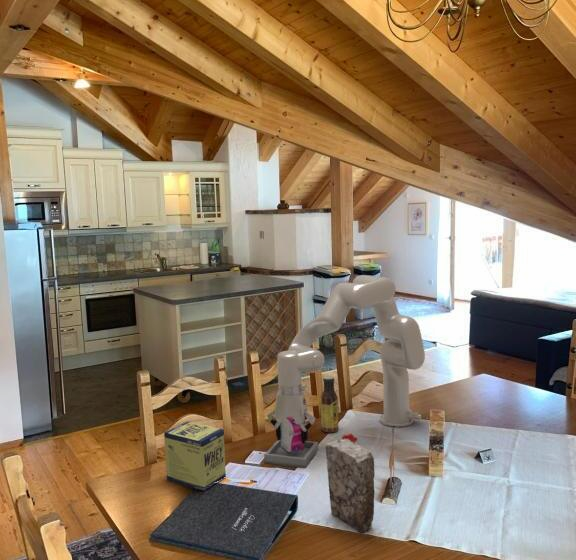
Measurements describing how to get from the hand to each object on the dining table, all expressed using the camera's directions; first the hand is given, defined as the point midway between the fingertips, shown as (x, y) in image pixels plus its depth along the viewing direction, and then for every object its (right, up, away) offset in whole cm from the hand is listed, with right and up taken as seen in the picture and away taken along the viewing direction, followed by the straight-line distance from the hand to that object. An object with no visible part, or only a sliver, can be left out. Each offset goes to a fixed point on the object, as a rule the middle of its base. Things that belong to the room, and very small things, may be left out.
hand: (292, 440), depth 183 cm
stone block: (+15, -10, -39) cm, 43 cm away
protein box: (-29, -8, -13) cm, 33 cm away
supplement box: (0, -3, 0) cm, 3 cm away
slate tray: (0, -5, +1) cm, 6 cm away
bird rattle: (+18, -6, -8) cm, 21 cm away
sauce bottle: (+14, -3, +22) cm, 26 cm away
